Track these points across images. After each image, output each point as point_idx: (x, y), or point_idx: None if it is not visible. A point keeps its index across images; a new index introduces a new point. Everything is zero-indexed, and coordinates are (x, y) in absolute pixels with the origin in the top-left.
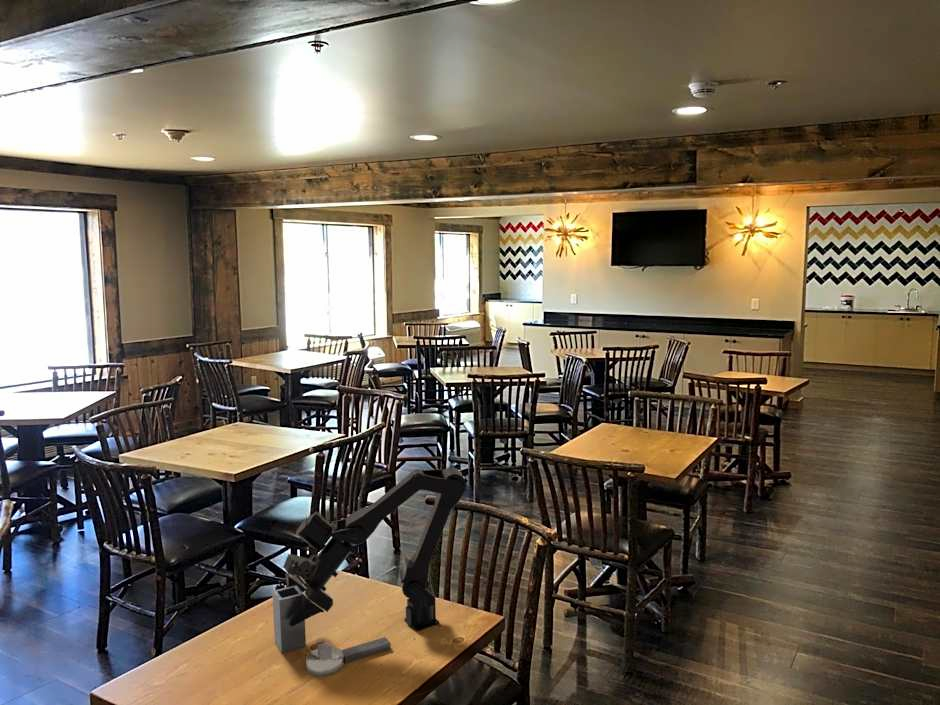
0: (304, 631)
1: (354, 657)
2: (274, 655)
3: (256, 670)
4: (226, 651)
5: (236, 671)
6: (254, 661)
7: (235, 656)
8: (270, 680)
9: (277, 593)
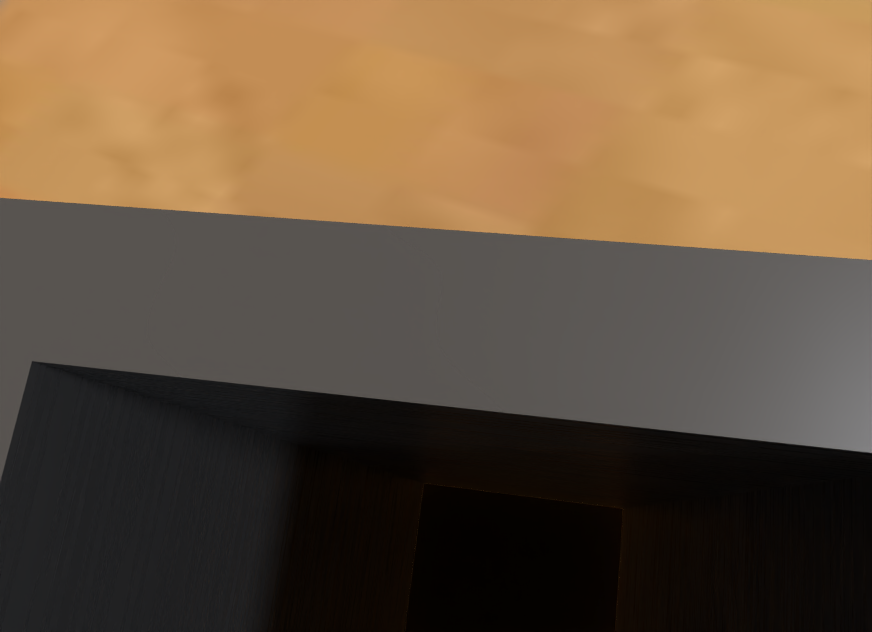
0: None
1: None
2: None
3: (285, 152)
4: (787, 26)
5: (384, 17)
6: (438, 181)
7: (639, 69)
8: (68, 197)
9: (658, 379)
